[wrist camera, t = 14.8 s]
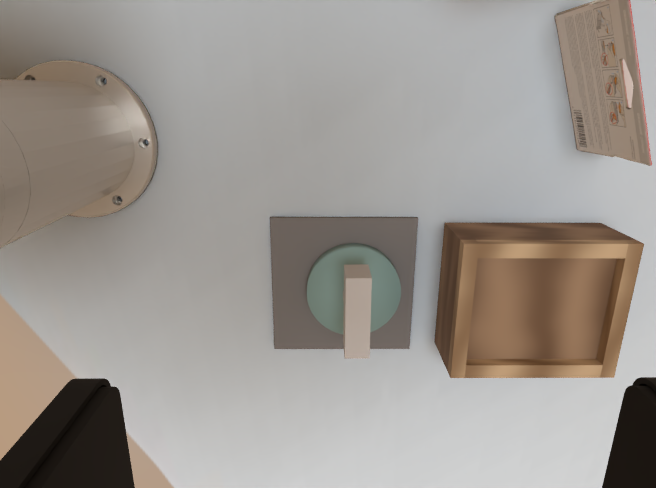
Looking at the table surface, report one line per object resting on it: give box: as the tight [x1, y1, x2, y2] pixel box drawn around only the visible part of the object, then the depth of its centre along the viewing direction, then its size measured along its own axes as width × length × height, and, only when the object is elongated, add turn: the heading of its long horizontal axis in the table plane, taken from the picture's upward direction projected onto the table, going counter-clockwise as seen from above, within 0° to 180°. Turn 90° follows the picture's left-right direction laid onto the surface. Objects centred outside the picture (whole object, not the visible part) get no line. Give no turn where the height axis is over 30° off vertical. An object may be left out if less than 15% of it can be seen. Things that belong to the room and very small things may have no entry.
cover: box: [307, 243, 401, 358], centre depth 40 cm, size 8×8×7 cm
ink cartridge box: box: [555, 0, 652, 166], centre depth 34 cm, size 2×11×10 cm, turn 19°
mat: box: [270, 217, 418, 349], centre depth 44 cm, size 13×13×1 cm
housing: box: [435, 223, 644, 378], centre depth 41 cm, size 14×12×6 cm
